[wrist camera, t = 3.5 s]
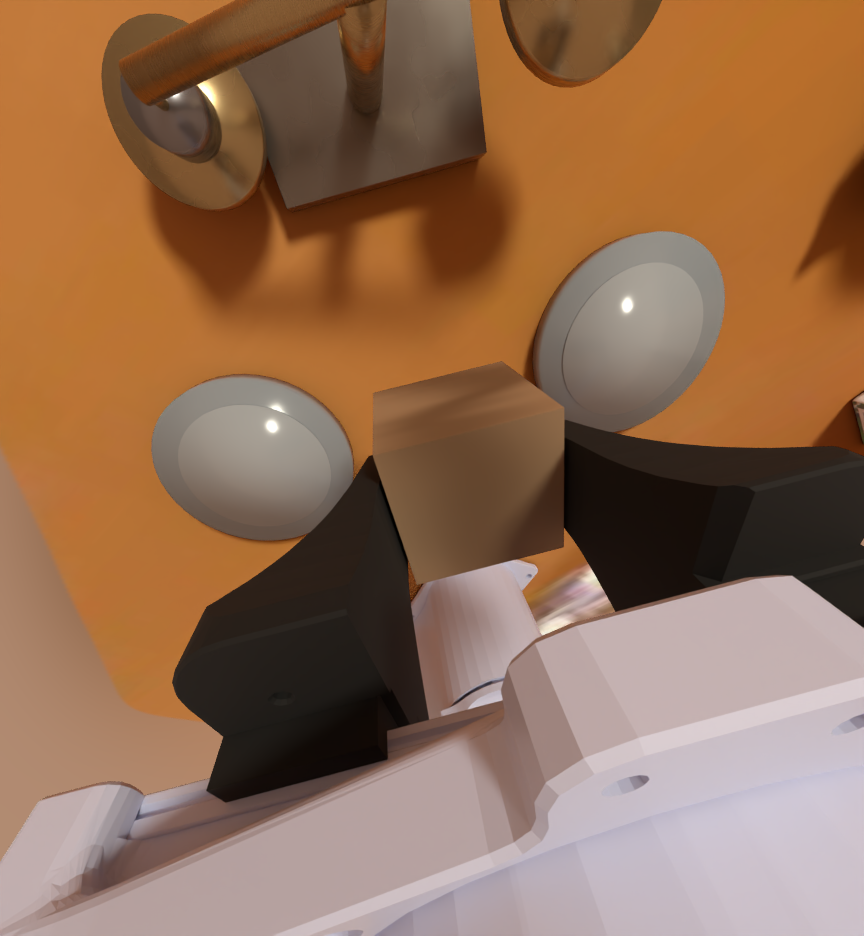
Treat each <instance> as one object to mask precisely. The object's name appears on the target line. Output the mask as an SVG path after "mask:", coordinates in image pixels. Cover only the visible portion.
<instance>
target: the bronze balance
mask: <svg viewBox="0 0 864 936" xmlns="http://www.w3.org/2000/svg"><path fill="white" fill-rule="evenodd" d="M499 1H500V7H501V12H502V17H503V21H504V24H505V27H506V31H507V34H508V36H509V39H510V41H511V43H512V46H513V48H514V49H515V51H516V53H517V55H518V56H519V58H520V60H521V61H522V62H523V63H524V65H525V66H526V67H527V69H529V70H530V71H531V72H532V73H533V74H534V75H535V76H536V77H538V78H539V79H541V80H542V81H544V82H546V83H548V84H551V85H553V86H558V87H576V86H581V85H584V84H587V83H589V82H591V81H593V80H595V79H597V78H598V77H600V76H601V75H603V74H604V73H605V72H607V71H608V70H609V69H610V68H612V67H613V66H614V65H615V64H616V63H618V62H619V61H620V60H621V59H622V58H623V57H624V56H625V55H626V54H627V53H628V52H629V51H630V50H631V49H632V48H633V47H634V46H635V45H636V43H637V42H638V41H639V40H640V38H641V37H642V35H643V34H644V32H645V31H646V29H647V28H648V26H649V25H650V23H651V21H652V19H653V18H654V16H655V14H656V12H657V10H658V8H659V6H660V3H661V1H662V0H499ZM102 90H103V95H104V101H105V105H106V109H107V112H108V116H109V118H110V121H111V124H112V126H113V129H114V131H115V133H116V135H117V137H118V139H119V141H120V143H121V144H122V146H123V148H124V149H125V151H126V153H127V154H128V156H129V157H130V158H131V160H132V161H133V163H134V164H135V165H136V166H137V167H138V169H139V170H140V171H141V172H142V173H143V174H144V175H145V176H146V177H147V178H148V179H149V180H150V181H151V182H152V183H153V184H154V185H156V186H157V187H158V188H159V189H160V190H162V191H163V192H165V193H166V194H168V195H169V196H171V197H173V198H174V199H176V200H178V201H180V202H182V203H185V204H188V205H190V206H193V207H196V208H200V209H204V210H209V211H226V210H231V209H234V208H237V207H239V206H241V205H242V204H244V203H246V202H247V201H248V200H249V199H250V198H251V197H252V196H253V195H254V194H255V192H256V191H257V189H258V187H259V186H260V184H261V181H262V179H263V176H264V172H265V168H266V161H267V157H268V159H269V162H270V165H271V167H272V170H273V173H274V175H275V178H276V181H277V183H278V186H279V189H280V191H281V194H282V197H283V199H284V202H285V205H286V207H287V209H288V210H290V211H291V212H295V211H298V210H302V209H305V208H309V207H312V206H316V205H319V204H323V203H327V202H330V201H334V200H337V199H341V198H344V197H348V196H351V195H355V194H358V193H362V192H365V191H369V190H372V189H376V188H380V187H383V186H387V185H390V184H394V183H397V182H401V181H404V180H408V179H411V178H415V177H418V176H422V175H425V174H429V173H432V172H436V171H440V170H443V169H447V168H450V167H454V166H457V165H461V164H464V163H468V162H471V161H475V160H478V159H480V158H481V157H482V156H483V155H484V154H485V153H486V152H487V151H486V142H485V133H484V124H483V116H482V107H481V98H480V89H479V80H478V71H477V62H476V53H475V45H474V36H473V27H472V18H471V9H470V0H235V1H233V2H231V3H229V4H227V5H225V6H223V7H221V8H219V9H217V10H215V11H213V12H212V13H210V14H208V15H206V16H204V17H202V18H200V19H198V20H196V21H194V22H192V23H190V24H188V23H186V22H184V21H182V20H180V19H177V18H174V17H172V16H167V15H162V14H145V15H139V16H136V17H134V18H131V19H129V20H128V21H126V22H125V23H123V24H122V25H121V26H120V27H119V28H118V29H117V30H116V31H115V32H114V34H113V35H112V37H111V39H110V40H109V42H108V45H107V47H106V50H105V53H104V58H103V63H102Z"/></svg>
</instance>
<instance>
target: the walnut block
mask: <svg viewBox="0 0 864 936" xmlns="http://www.w3.org/2000/svg"><path fill="white" fill-rule="evenodd" d="M373 458H374V461H375V464H376V467H377V470H378V473H379V476H380V478H381V481H382V484H383V487H384V490H385V493H386V496H387V499H388V502H389V505H390V508H391V511H392V514H393V516H394V519H395V522H396V525H397V528H398V531H399V534H400V537H401V540H402V543H403V546H404V549H405V552H406V555H407V557H408V560H409V563H410V566H411V569H412V572H413V575H414V578H415V581H416V584H417V585H419V584H423V583H427V582H431V581H435V580H438V579H442V578H446V577H450V576H454V575H458V574H462V573H466V572H469V571H473V570H477V569H481V568H485V567H489V566H493V565H497V564H500V563H504V562H508V561H512V560H516V559H520V558H524V557H528V556H531V555H535V554H539V553H543V552H547V551H551V550H555V549H559V548H562V547H564V407H563V406H561V405H560V404H559V403H557V402H556V401H555V400H553V399H552V398H551V397H549V396H548V395H547V394H545V393H544V392H542V391H541V390H540V389H538V388H537V387H536V386H534V385H533V384H532V383H530V382H529V381H528V380H526V379H525V378H524V377H522V376H521V375H520V374H518V373H517V372H516V371H514V370H513V369H512V368H510V367H509V366H508V365H506V364H505V363H504V362H502V361H501V362H497V363H493V364H489V365H485V366H481V367H476V368H472V369H468V370H464V371H460V372H456V373H452V374H448V375H444V376H440V377H436V378H432V379H428V380H424V381H420V382H416V383H412V384H408V385H404V386H399V387H395V388H391V389H387V390H383V391H379V392H375V393H373Z"/></svg>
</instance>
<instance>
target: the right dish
mask: <svg viewBox="0 0 864 936" xmlns="http://www.w3.org/2000/svg"><path fill="white" fill-rule="evenodd" d="M724 304H725V293H724V284H723V279H722V274H721V272H720V269H719V267H718V264H717V262H716V261H715V259H714V257H713V256H712V254H711V253H710V252H709V251H708V250H707V249H706V248H705V247H704V245H702V244H701V243H699V242H698V241H696V240H695V239H693V238H691V237H688V236H686V235H684V234H679V233H675V232H650V233H642V234H636V235H630V236H626V237H623V238H620V239H617V240H615V241H613V242H610V243H608V244H606V245H604V246H602V247H601V248H599V249H598V250H596V251H594V252H593V253H591V254H590V255H589V256H588V257H586V258H585V259H584V260H583V261H581V262H580V263H579V264H578V265H577V266H576V267H575V268H574V269H573V270H572V271H571V272H570V273H569V274H568V275H567V276H566V278H565V279H564V280H563V281H562V283H561V284H560V285H559V286H558V288H557V289H556V291H555V292H554V294H553V296H552V297H551V299H550V300H549V302H548V304H547V306H546V308H545V310H544V312H543V315H542V317H541V320H540V323H539V325H538V329H537V332H536V336H535V341H534V348H533V373H534V378H535V382H536V386H537V388H538V389H540V390H541V391H542V392H544V393H545V394H547V395H548V396H549V397H551V398H552V399H553V400H555V401H556V402H557V403H559V404H560V405H561V406H563V407H564V419H565V420H568V421H572V422H575V423H579V424H582V425H586V426H589V427H593V428H596V429H600V430H604V431H608V432H616V431H621V430H625V429H628V428H631V427H634V426H636V425H639V424H641V423H643V422H645V421H647V420H649V419H651V418H652V417H654V416H656V415H657V414H659V413H660V412H662V411H663V410H664V409H666V408H667V407H668V406H669V405H671V404H672V403H673V402H674V401H675V400H676V399H677V398H678V397H679V396H681V395H682V394H683V392H684V391H685V390H686V389H687V388H688V387H689V386H690V385H691V384H692V382H693V381H694V380H695V378H696V377H697V376H698V374H699V373H700V371H701V370H702V368H703V367H704V365H705V363H706V362H707V360H708V358H709V356H710V354H711V352H712V350H713V348H714V345H715V343H716V341H717V338H718V335H719V332H720V328H721V325H722V320H723V314H724Z"/></svg>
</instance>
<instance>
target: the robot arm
mask: <svg viewBox="0 0 864 936" xmlns="http://www.w3.org/2000/svg"><path fill="white" fill-rule="evenodd" d="M564 528H565V529H566V531H567V532H568V533H569V535H570V536H571V537H572V539H573V540H574V541H575V543H576V544H577V546H578V547H579V549H580V550H581V552H582V554H583V555H584V557H585V559H586V560H587V562H588V564H589V565H590V567H591V569H592V570H593V572H594V574H595V576H596V577H597V579H598V581H599V583H600V584H601V586H602V588H603V590H604V592H605V593H606V595H607V597H608V599H609V601H610V602H611V604H612V606H613V608H614V610H615V612H613V613H609V614H605V615H602V616H598V617H594V618H590V619H586V620H583V621H579V622H575V623H571V624H569V625H567V626H564V627H562V628H560V629H557V630H555V631H552V632H550V633H548V634H545V635H543V636H542V635H541V633H540V630H539V628H538V626H537V624H536V622H535V619H534V617H533V615H532V613H531V611H530V608H529V606H528V604H527V602H526V599H525V597H524V595H523V593H522V590H523V589H524V588H525V587H526V585H527V584H528V583H529V582H530V581H531V579H532V578H533V577H534V576H535V575H536V573H537V572H538V569H537V567H536V565H534V564H530V563H527V562H523V561H520V560H512V561H508V562H504V563H500V564H497V565H493V566H489V567H485V568H481V569H477V570H473V571H469V572H466V573H462V574H458V575H454V576H450V577H446V578H442V579H438V580H435V581H431V582H427V583H424V584H423V586H422V587H421V589H420V590H419V592H418V593H417V595H416V596H415V598H414V599H413V601H412V602H411V601H410V593H409V581H408V557H407V555H406V552H405V549H404V546H403V543H402V540H401V537H400V534H399V531H398V528H397V525H396V522H395V519H394V516H393V514H392V511H391V508H390V505H389V502H388V499H387V496H386V493H385V490H384V487H383V484H382V481H381V478H380V476H379V473H378V470H377V467H376V464H375V461H374V458H373V455H372V456H369V457H368V458H367V460H366V461H365V463H364V465H363V466H362V468H361V469H360V471H359V473H358V474H357V476H356V477H355V479H354V480H353V482H352V483H351V485H350V486H349V488H348V489H347V491H346V492H345V493H344V494H343V496H342V497H341V498H340V500H339V501H338V502H337V504H336V505H335V506H334V508H333V509H332V510H331V511H330V512H329V513H328V514H327V516H326V517H325V518H324V519H323V520H322V521H321V522H320V523H319V524H318V525H317V526H316V527H315V528H314V529H313V530H312V531H311V532H310V533H309V534H308V535H307V536H305V537H304V538H303V539H302V540H301V541H300V542H299V543H298V544H296V545H295V546H294V547H293V548H292V549H291V550H290V551H288V552H287V553H286V554H285V555H283V556H282V557H281V558H280V559H278V560H277V561H276V562H274V563H273V564H272V565H270V566H269V567H268V568H266V569H265V570H263V571H262V572H261V573H259V574H258V575H256V576H255V577H253V578H252V579H251V580H249V581H248V582H246V583H244V584H243V585H241V586H240V587H238V588H236V589H235V590H233V591H232V592H230V593H229V594H227V595H225V596H224V597H222V598H221V599H219V600H217V601H216V602H214V603H212V604H211V605H209V606H207V607H206V609H205V611H204V613H203V615H202V617H201V619H200V621H199V623H198V625H197V627H196V629H195V631H194V633H193V635H192V637H191V639H190V641H189V643H188V645H187V647H186V649H185V651H184V653H183V655H182V657H181V659H180V661H179V663H178V665H177V667H176V669H175V672H174V677H173V681H172V683H173V687H174V690H175V693H176V695H177V697H178V698H179V699H180V700H181V702H182V703H183V704H184V705H185V706H186V707H187V708H188V709H189V710H190V711H192V712H193V713H194V714H195V715H197V716H198V717H199V718H201V719H202V720H203V721H204V722H206V723H207V724H208V725H209V726H211V727H212V728H213V729H214V730H216V731H217V732H218V733H220V734H221V735H222V736H223V740H222V743H221V746H220V749H219V752H218V755H217V759H216V762H215V765H214V768H213V771H212V774H211V777H210V778H208V779H204V780H200V781H197V782H193V783H189V784H185V785H181V786H178V787H174V788H170V789H167V790H163V791H159V792H155V793H152V794H147V795H143V793H142V792H141V791H140V790H139V789H137V788H136V787H134V786H132V785H130V784H127V783H124V782H115V781H108V782H101V783H96V784H92V785H89V786H85V787H81V788H77V789H74V790H70V791H66V792H62V793H58V794H55V795H51V796H47V797H45V798H43V799H42V800H40V801H39V802H38V803H37V805H36V806H35V808H34V809H33V811H32V812H31V814H30V816H29V817H28V819H27V821H26V822H25V823H24V825H23V827H22V828H21V830H20V832H19V833H18V835H17V836H16V838H15V839H14V841H13V843H12V844H11V846H10V847H9V849H8V851H7V852H6V854H5V855H4V857H3V858H2V860H1V862H0V936H864V546H862V545H861V544H860V543H861V542H862V540H863V539H864V456H862V455H859V454H857V453H854V452H851V451H849V450H846V449H843V448H839V447H834V446H827V447H791V448H735V447H712V446H698V445H687V444H676V443H668V442H660V441H654V440H648V439H641V438H635V437H630V436H625V435H621V434H617V433H612V432H608V431H604V430H600V429H596V428H593V427H589V426H586V425H582V424H579V423H575V422H572V421H568V420H565V419H564Z"/></svg>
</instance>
